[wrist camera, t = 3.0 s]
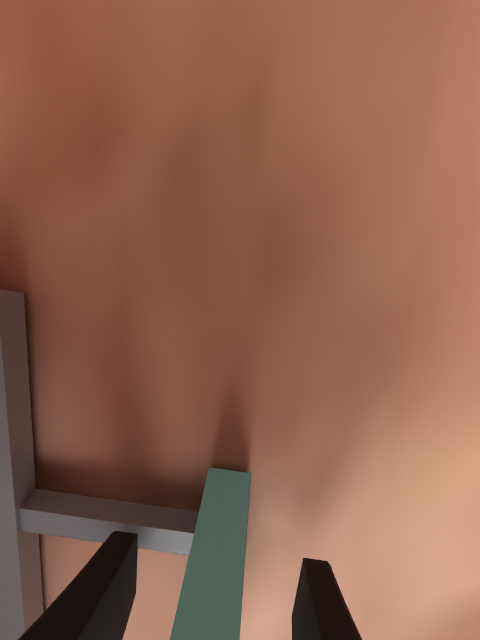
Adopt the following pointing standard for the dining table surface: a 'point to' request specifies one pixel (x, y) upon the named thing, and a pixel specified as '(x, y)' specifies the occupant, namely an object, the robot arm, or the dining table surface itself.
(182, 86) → the dining table surface
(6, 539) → the frame with teal handle
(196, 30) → the dining table surface
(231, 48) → the dining table surface
